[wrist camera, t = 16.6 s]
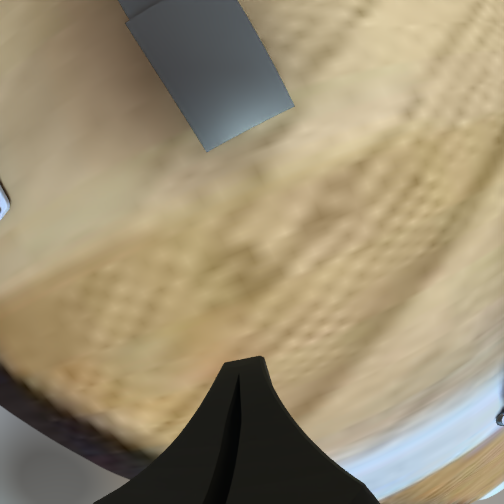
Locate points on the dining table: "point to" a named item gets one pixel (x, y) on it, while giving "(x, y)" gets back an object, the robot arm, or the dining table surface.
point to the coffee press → (500, 419)
